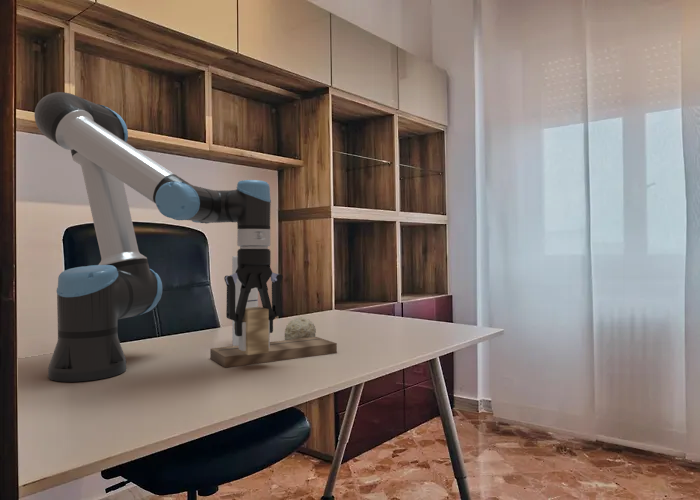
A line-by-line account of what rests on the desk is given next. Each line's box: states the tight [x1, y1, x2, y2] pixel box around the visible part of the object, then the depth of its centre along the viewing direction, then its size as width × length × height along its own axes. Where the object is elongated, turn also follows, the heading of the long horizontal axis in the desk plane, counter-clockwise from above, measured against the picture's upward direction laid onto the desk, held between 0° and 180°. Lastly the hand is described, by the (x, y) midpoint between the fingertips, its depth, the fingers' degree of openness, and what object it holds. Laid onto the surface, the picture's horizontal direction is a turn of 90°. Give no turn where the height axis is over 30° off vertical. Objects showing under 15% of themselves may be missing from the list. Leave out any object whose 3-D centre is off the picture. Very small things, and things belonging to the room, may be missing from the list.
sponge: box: [283, 316, 317, 340], centre depth 145 cm, size 9×10×10 cm
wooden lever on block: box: [234, 306, 269, 355], centre depth 120 cm, size 5×14×10 cm, turn 32°
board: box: [210, 336, 338, 369], centre depth 128 cm, size 30×11×3 cm, turn 123°
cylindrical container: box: [231, 255, 259, 346], centre depth 143 cm, size 7×7×25 cm
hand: (254, 348), depth 116 cm, fingers closed on wooden lever on block, 5 cm apart
